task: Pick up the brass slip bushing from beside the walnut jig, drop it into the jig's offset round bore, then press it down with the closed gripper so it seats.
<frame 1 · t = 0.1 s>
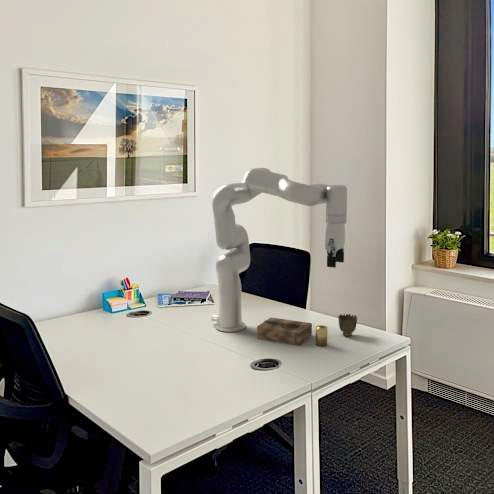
hand: (335, 264, 209), 31 cm above the table, tool pointing down, fingers open, 9 cm apart
bushing: (321, 344, 214), on the table
jig: (284, 336, 222), on the table
cup: (347, 336, 223), on the table
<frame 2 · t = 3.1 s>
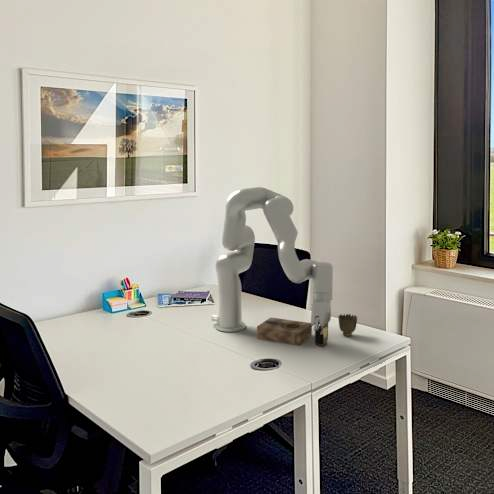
hand: (321, 341, 213), 1 cm above the table, tool pointing down, fingers closed on bushing, 4 cm apart
bushing: (321, 344, 213), on the table, touching gripper
everything else where it was.
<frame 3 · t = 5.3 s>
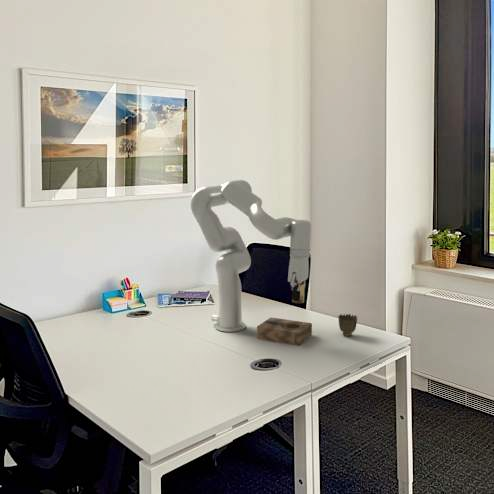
hand: (298, 298, 216), 17 cm above the table, tool pointing down, fingers closed on bushing, 4 cm apart
bushing: (298, 301, 217), point 15 cm above the table, touching gripper
everything else where it was.
when the fingers open (7 cm above the table, at t = 7.8 s): bushing drops 6 cm, resting in jig.
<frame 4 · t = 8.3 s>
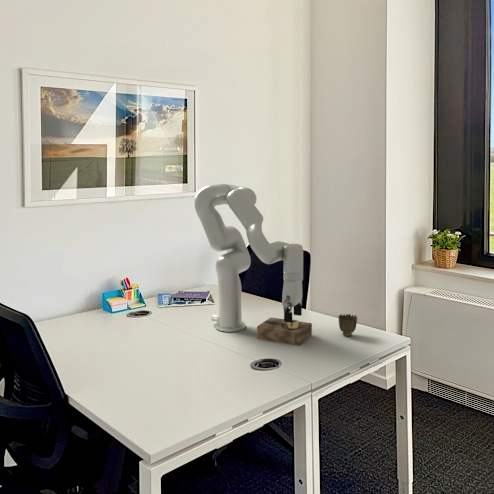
hand: (292, 318, 219), 8 cm above the table, tool pointing down, fingers open, 9 cm apart
bushing: (292, 338, 221), resting in jig
everything else where it was.
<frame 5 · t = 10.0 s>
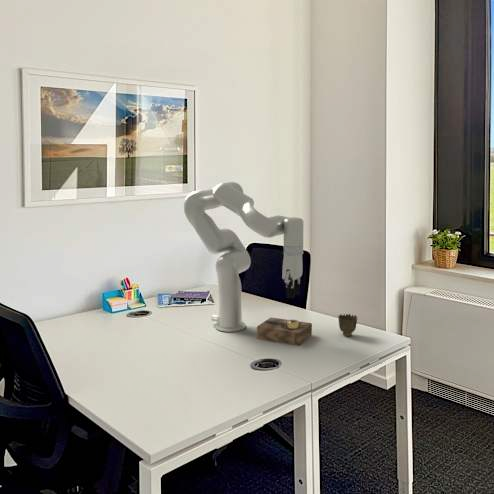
hand: (293, 295, 218), 17 cm above the table, tool pointing down, fingers open, 4 cm apart
nothing on the table moved.
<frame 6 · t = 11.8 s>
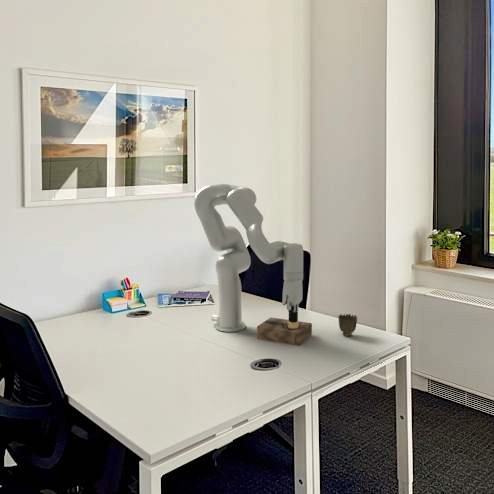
hand: (293, 321, 219), 7 cm above the table, tool pointing down, fingers closed
bushing: (292, 338, 221), resting in jig, touching gripper
everything else where it was.
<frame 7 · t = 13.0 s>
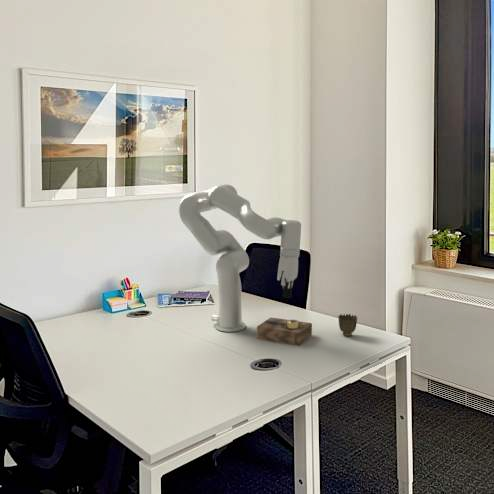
hand: (286, 297, 222), 16 cm above the table, tool pointing down, fingers closed
bushing: (292, 338, 221), resting in jig
everything else where it was.
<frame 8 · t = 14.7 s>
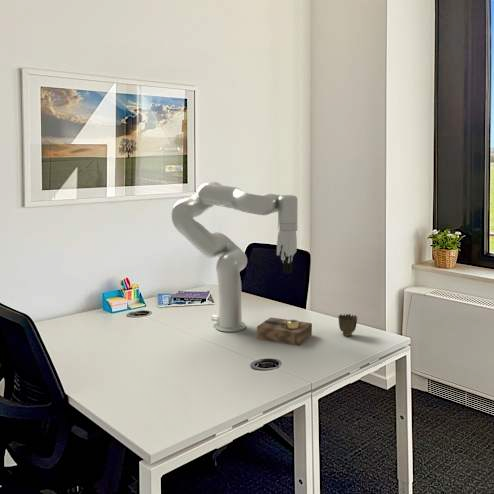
hand: (287, 272, 223), 25 cm above the table, tool pointing down, fingers closed
nothing on the table moved.
at the end: bushing 0.1 cm from the target spot on the jig, point 0.0 cm above the jig's base; bushing tilted 0°; the gripper is holding nothing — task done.
